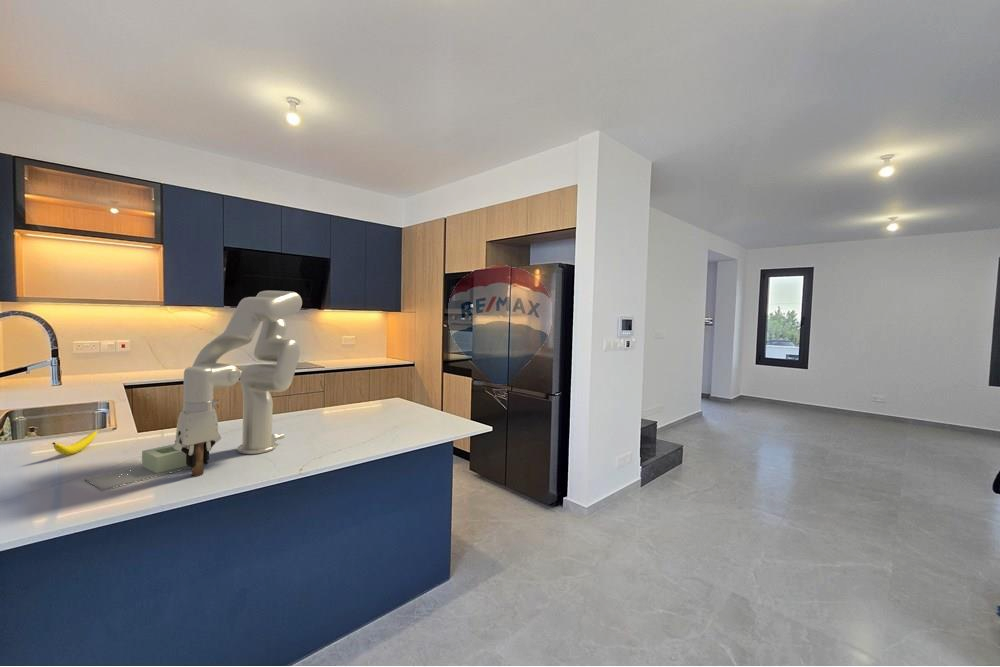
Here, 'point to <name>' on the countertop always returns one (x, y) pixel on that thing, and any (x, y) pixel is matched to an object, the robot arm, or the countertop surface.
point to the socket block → (163, 459)
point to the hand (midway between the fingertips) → (197, 464)
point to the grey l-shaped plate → (126, 476)
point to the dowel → (198, 459)
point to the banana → (75, 445)
